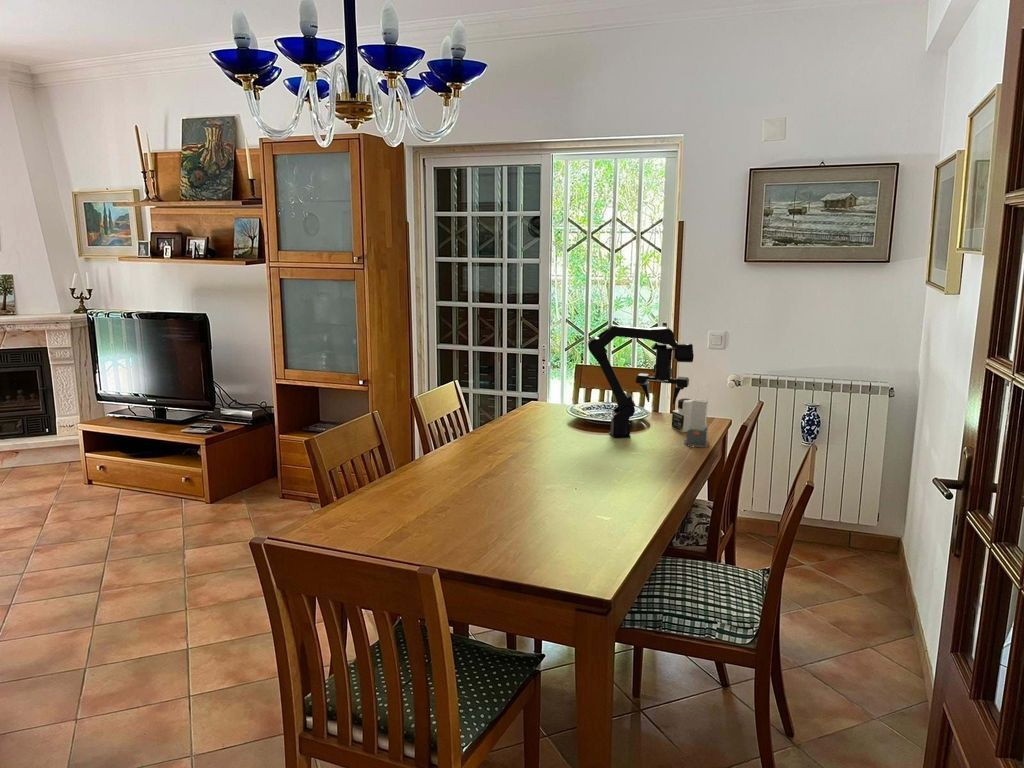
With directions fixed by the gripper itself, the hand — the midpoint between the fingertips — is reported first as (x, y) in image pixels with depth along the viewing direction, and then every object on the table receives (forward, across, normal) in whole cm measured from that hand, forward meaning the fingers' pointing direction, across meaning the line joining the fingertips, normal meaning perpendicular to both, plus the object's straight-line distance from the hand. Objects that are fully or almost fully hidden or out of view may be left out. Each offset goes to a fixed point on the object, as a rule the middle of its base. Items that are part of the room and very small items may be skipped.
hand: (660, 403), depth 274 cm
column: (+9, -14, +4) cm, 18 cm away
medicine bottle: (+13, -8, -14) cm, 21 cm away
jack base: (+13, -14, +4) cm, 20 cm away
